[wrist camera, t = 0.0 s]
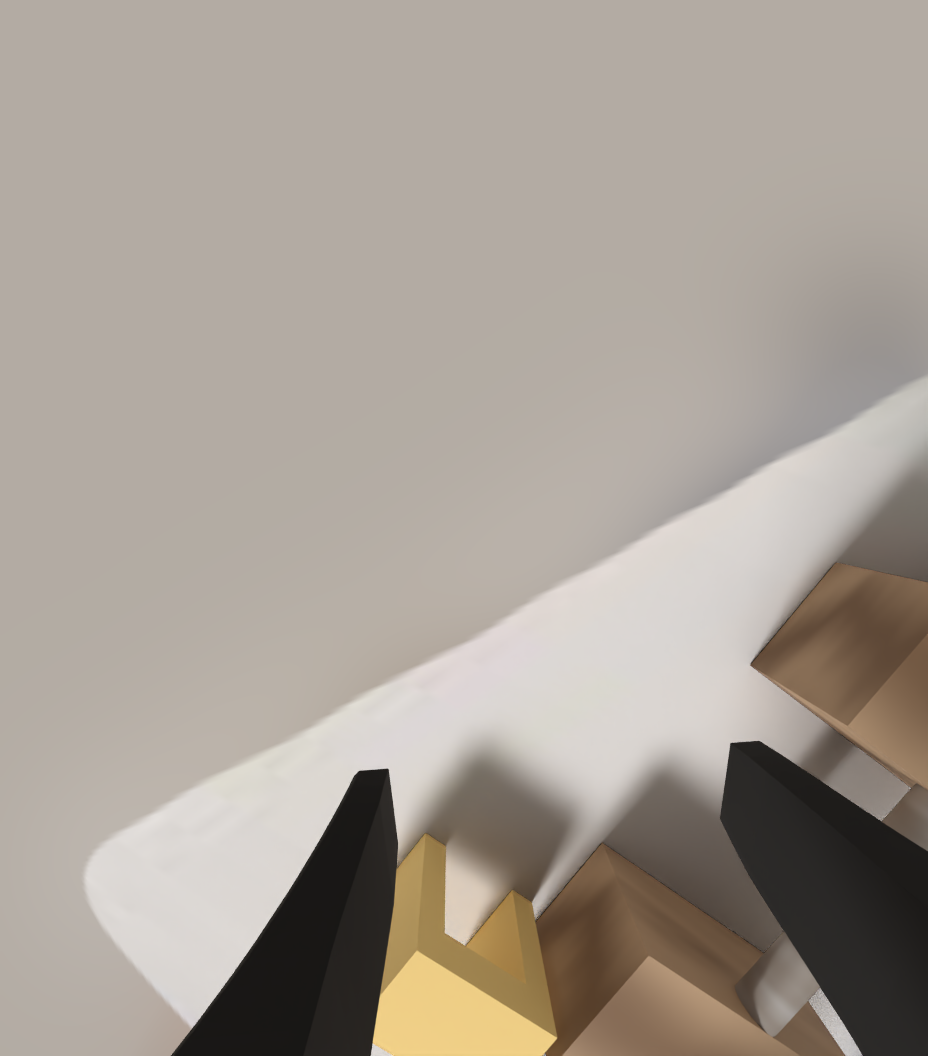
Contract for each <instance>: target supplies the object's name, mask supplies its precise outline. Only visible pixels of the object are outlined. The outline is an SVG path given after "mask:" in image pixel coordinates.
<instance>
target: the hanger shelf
mask: <svg viewBox="0 0 928 1056" xmlns="http://www.w3.org/2000/svg"><path fill="white" fill-rule="evenodd" d="M750 666H752V667H753V668H754V669H756V670H757V671H758V672H760V673H761V674H762V675H764V676H765V677H766V678H768V679H769V680H770V681H772V682H773V683H774V684H775V685H777V686H778V687H779V688H781V689H782V690H783V691H785V692H786V693H787V694H789V695H790V696H791V697H793V698H794V699H795V700H796V701H798V702H799V703H800V704H802V705H803V706H804V707H806V708H807V709H808V710H810V711H811V712H812V713H814V714H815V715H816V716H818V717H819V718H820V719H821V720H823V721H824V722H825V723H827V724H828V725H829V726H831V727H832V728H833V729H835V730H836V731H837V732H839V733H840V734H841V735H842V736H844V737H845V738H846V739H848V740H849V741H850V742H852V743H853V744H854V745H856V746H857V747H858V748H860V749H861V750H862V751H864V752H865V753H866V754H867V755H869V756H870V757H871V758H873V759H874V760H875V761H877V762H878V763H879V764H881V765H882V766H883V767H885V768H886V769H887V770H889V771H890V772H891V773H892V774H894V775H895V776H896V777H898V778H899V779H900V780H902V781H903V782H904V783H906V784H907V785H908V786H910V787H911V789H910V790H909V791H908V793H907V794H906V795H905V796H904V797H903V798H902V799H901V800H900V801H899V803H898V804H897V805H896V806H895V807H894V808H893V809H892V810H891V812H890V813H889V814H888V815H887V816H886V817H885V818H884V819H883V821H882V822H883V823H885V824H886V825H888V826H889V827H891V828H892V829H894V830H895V831H897V832H898V833H900V834H902V835H903V836H905V837H906V838H908V839H909V840H911V841H912V842H914V843H916V844H917V845H919V846H920V847H922V848H924V849H925V850H927V851H928V582H924V581H919V580H914V579H910V578H905V577H901V576H896V575H892V574H887V573H882V572H878V571H873V570H869V569H864V568H860V567H855V566H850V565H846V564H841V563H837V562H836V563H835V564H834V565H833V567H832V568H831V569H830V570H829V571H828V573H827V574H826V575H825V576H824V577H823V579H822V580H821V581H820V582H819V583H818V585H817V586H816V587H815V588H814V589H813V591H812V592H811V593H810V594H809V595H808V597H807V598H806V599H805V600H804V601H803V603H802V604H801V605H800V606H799V607H798V609H797V610H796V611H795V612H794V613H793V615H792V616H791V617H790V618H789V619H788V620H787V622H786V623H785V624H784V625H783V626H782V628H781V629H780V630H779V631H778V632H777V634H776V635H775V636H774V637H773V638H772V640H771V641H770V642H769V643H768V644H767V646H766V647H765V648H764V649H763V650H762V652H761V653H760V654H759V655H758V656H757V658H756V659H755V660H754V661H753V662H752V664H751V665H750ZM536 928H537V933H538V938H539V943H540V949H541V954H542V959H543V964H544V970H545V975H546V980H547V986H548V991H549V996H550V1001H551V1007H552V1012H553V1017H554V1022H555V1028H556V1033H557V1039H556V1040H555V1042H554V1043H553V1044H552V1045H551V1046H550V1047H549V1049H548V1050H547V1051H546V1056H845V1054H844V1053H843V1051H842V1050H841V1049H840V1047H839V1046H838V1044H837V1043H836V1041H835V1040H834V1038H833V1037H832V1035H831V1034H830V1032H829V1031H828V1029H827V1028H826V1027H825V1025H824V1024H823V1022H822V1021H821V1019H820V1018H819V1016H818V1015H817V1013H816V1012H815V1010H814V1009H813V1008H812V1006H811V1005H810V1003H809V1002H808V1000H809V999H810V998H811V997H812V996H813V995H814V994H815V993H816V991H817V990H818V989H819V988H820V986H819V985H818V983H817V982H816V980H815V978H814V977H813V975H812V974H811V972H810V971H809V969H808V968H807V966H806V964H805V963H804V961H803V960H802V958H801V957H800V955H799V954H798V952H797V950H796V949H795V947H794V946H793V944H792V943H791V941H790V940H789V938H788V936H787V935H786V933H785V932H784V931H783V933H782V934H781V935H780V936H779V937H778V938H777V939H776V940H775V942H774V943H773V944H772V945H771V946H770V947H769V948H768V949H767V951H766V952H765V953H763V952H761V951H760V950H758V949H757V948H756V947H754V946H753V945H751V944H750V943H748V942H747V941H745V940H744V939H742V938H741V937H739V936H738V935H736V934H735V933H734V932H732V931H731V930H729V929H728V928H726V927H725V926H723V925H722V924H720V923H719V922H717V921H716V920H715V919H713V918H712V917H710V916H709V915H707V914H706V913H704V912H703V911H701V910H700V909H698V908H697V907H695V906H694V905H693V904H691V903H690V902H688V901H687V900H685V899H684V898H682V897H681V896H679V895H678V894H676V893H675V892H674V891H672V890H671V889H669V888H668V887H666V886H665V885H663V884H662V883H660V882H659V881H657V880H656V879H654V878H653V877H652V876H650V875H649V874H647V873H646V872H644V871H643V870H641V869H640V868H638V867H637V866H635V865H634V864H633V863H631V862H630V861H628V860H627V859H625V858H624V857H622V856H621V855H619V854H618V853H616V852H615V851H613V850H612V849H611V848H609V847H608V846H606V845H605V844H603V843H601V845H600V846H599V847H598V848H597V849H596V851H595V852H594V853H593V854H592V855H591V857H590V858H589V859H588V860H587V861H586V863H585V864H584V865H583V866H582V867H581V869H580V870H579V871H578V872H577V873H576V875H575V876H574V877H573V878H572V879H571V881H570V882H569V883H568V884H567V885H566V887H565V888H564V889H563V890H562V891H561V893H560V894H559V895H558V896H557V897H556V899H555V900H554V901H553V902H552V903H551V905H550V906H549V907H548V908H547V909H546V911H545V912H544V913H543V914H542V915H541V917H540V918H539V919H538V920H537V921H536Z"/></svg>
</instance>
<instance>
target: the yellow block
mask: <svg viewBox="0 0 928 1056" xmlns="http://www.w3.org/2000/svg"><path fill="white" fill-rule="evenodd" d="M445 868H446V846H445V845H443V844H442V843H440V842H439V841H437V840H436V839H434V838H433V837H431V836H430V835H428V834H426V833H425V834H424V835H423V837H422V838H421V839H420V840H419V842H418V843H417V844H416V845H415V847H414V848H413V849H412V850H411V852H410V853H409V854H408V855H407V857H406V858H405V859H404V860H403V862H402V863H401V864H400V866H399V867H398V868H397V869H396V883H395V897H394V908H393V914H392V921H391V928H390V934H389V941H388V947H387V954H386V960H385V967H384V973H383V979H382V986H381V992H380V998H379V1005H378V1011H377V1018H376V1024H375V1030H374V1037H373V1044H375V1045H376V1046H378V1047H380V1048H382V1049H383V1050H385V1051H387V1052H388V1053H390V1054H392V1055H393V1056H543V1054H544V1053H545V1052H546V1051H547V1050H548V1049H549V1047H550V1046H551V1045H552V1044H553V1043H554V1042H555V1040H556V1039H557V1033H556V1028H555V1022H554V1017H553V1012H552V1007H551V1001H550V996H549V991H548V986H547V980H546V975H545V970H544V964H543V959H542V954H541V949H540V943H539V938H538V933H537V928H536V922H535V917H534V912H533V906H532V902H530V901H529V900H527V899H526V898H524V897H523V896H521V895H520V894H518V893H517V892H515V891H514V890H512V891H511V892H510V893H509V894H508V895H507V897H506V898H505V899H504V900H503V901H502V903H501V904H500V905H499V906H498V908H497V909H496V910H495V911H494V912H493V914H492V915H491V916H490V917H489V918H488V920H487V921H486V922H485V923H484V925H483V926H482V927H481V928H480V929H479V931H478V932H477V933H476V934H475V935H474V937H473V938H472V939H471V940H470V942H469V943H468V944H467V945H466V946H464V945H463V944H461V943H460V942H458V941H457V940H455V939H453V938H452V937H450V936H449V935H447V934H445Z"/></svg>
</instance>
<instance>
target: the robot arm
mask: <svg viewBox="0 0 928 1056" xmlns="http://www.w3.org/2000/svg"><path fill="white" fill-rule="evenodd" d="M720 819H721V822H722V824H723V826H724V828H725V830H726V832H727V834H728V836H729V838H730V840H731V842H732V844H733V846H734V848H735V850H736V852H737V854H738V856H739V858H740V859H741V861H742V863H743V865H744V867H745V869H746V871H747V873H748V875H749V876H750V878H751V880H752V881H753V883H754V884H755V886H756V888H757V889H758V891H759V892H760V894H761V896H762V897H763V899H764V900H765V902H766V904H767V905H768V907H769V908H770V910H771V911H772V913H773V915H774V916H775V918H776V919H777V921H778V922H779V924H780V926H781V927H782V929H783V930H784V932H785V933H786V935H787V936H788V938H789V940H790V941H791V943H792V944H793V946H794V947H795V949H796V950H797V952H798V954H799V955H800V957H801V958H802V960H803V961H804V963H805V964H806V966H807V968H808V969H809V971H810V972H811V974H812V975H813V977H814V978H815V980H816V982H817V983H818V985H819V986H820V988H821V989H822V991H823V992H824V994H825V996H826V997H827V999H828V1000H829V1002H830V1003H831V1005H832V1006H833V1008H834V1009H835V1011H836V1013H837V1014H838V1016H839V1017H840V1019H841V1020H842V1022H843V1023H844V1025H845V1027H846V1028H847V1030H848V1032H849V1033H850V1035H851V1037H852V1038H853V1040H854V1041H855V1043H856V1045H857V1046H858V1048H859V1050H860V1051H861V1053H862V1055H863V1056H928V851H927V850H925V849H924V848H922V847H920V846H919V845H917V844H916V843H914V842H912V841H911V840H909V839H908V838H906V837H905V836H903V835H902V834H900V833H898V832H897V831H895V830H894V829H892V828H891V827H889V826H888V825H886V824H885V823H883V822H881V821H880V820H878V819H877V818H875V817H874V816H872V815H871V814H869V813H868V812H866V811H865V810H863V809H862V808H860V807H859V806H857V805H856V804H854V803H853V802H851V801H850V800H848V799H847V798H845V797H844V796H842V795H841V794H839V793H838V792H836V791H835V790H833V789H832V788H830V787H829V786H827V785H826V784H824V783H823V782H821V781H820V780H818V779H817V778H815V777H814V776H812V775H811V774H809V773H808V772H806V771H805V770H803V769H802V768H800V767H799V766H797V765H796V764H794V763H793V762H791V761H790V760H788V759H787V758H785V757H784V756H782V755H781V754H779V753H778V752H776V751H775V750H773V749H771V748H770V747H768V746H767V745H765V744H763V743H762V742H760V741H751V742H738V743H731V744H730V751H729V758H728V766H727V773H726V780H725V787H724V794H723V801H722V808H721V816H720ZM397 853H398V840H397V832H396V824H395V816H394V808H393V800H392V792H391V785H390V777H389V769H378V770H364V771H359V772H358V773H357V774H356V775H355V776H354V777H353V779H352V781H351V784H350V786H349V788H348V789H347V791H346V793H345V795H344V797H343V799H342V801H341V803H340V805H339V807H338V808H337V810H336V812H335V814H334V816H333V818H332V819H331V821H330V823H329V825H328V826H327V828H326V830H325V832H324V834H323V835H322V837H321V839H320V841H319V842H318V844H317V846H316V847H315V849H314V851H313V852H312V854H311V856H310V857H309V859H308V861H307V862H306V864H305V866H304V867H303V869H302V871H301V872H300V874H299V875H298V877H297V879H296V880H295V882H294V884H293V885H292V887H291V888H290V890H289V892H288V893H287V895H286V896H285V898H284V899H283V901H282V902H281V904H280V905H279V907H278V908H277V910H276V911H275V913H274V914H273V916H272V917H271V919H270V920H269V922H268V923H267V925H266V926H265V928H264V929H263V931H262V933H261V934H260V936H259V937H258V939H257V940H256V942H255V943H254V944H253V946H252V947H251V949H250V950H249V952H248V953H247V954H246V956H245V957H244V959H243V960H242V962H241V963H240V964H239V966H238V967H237V969H236V970H235V972H234V973H233V974H232V976H231V977H230V978H229V980H228V981H227V983H226V984H225V985H224V987H223V988H222V989H221V991H220V992H219V994H218V995H217V996H216V998H215V999H214V1000H213V1002H212V1003H211V1004H210V1006H209V1007H208V1008H207V1010H206V1011H205V1012H204V1014H203V1015H202V1016H201V1018H200V1019H199V1020H198V1022H197V1023H196V1024H195V1026H194V1027H193V1028H192V1030H191V1031H190V1032H189V1033H188V1035H187V1036H186V1037H185V1039H184V1040H183V1041H182V1042H181V1044H180V1045H179V1046H178V1048H177V1049H176V1050H175V1051H174V1053H173V1054H172V1055H171V1056H371V1050H372V1043H373V1037H374V1030H375V1024H376V1018H377V1011H378V1005H379V998H380V992H381V986H382V979H383V973H384V967H385V960H386V954H387V947H388V941H389V934H390V928H391V921H392V914H393V908H394V897H395V883H396V868H397Z"/></svg>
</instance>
